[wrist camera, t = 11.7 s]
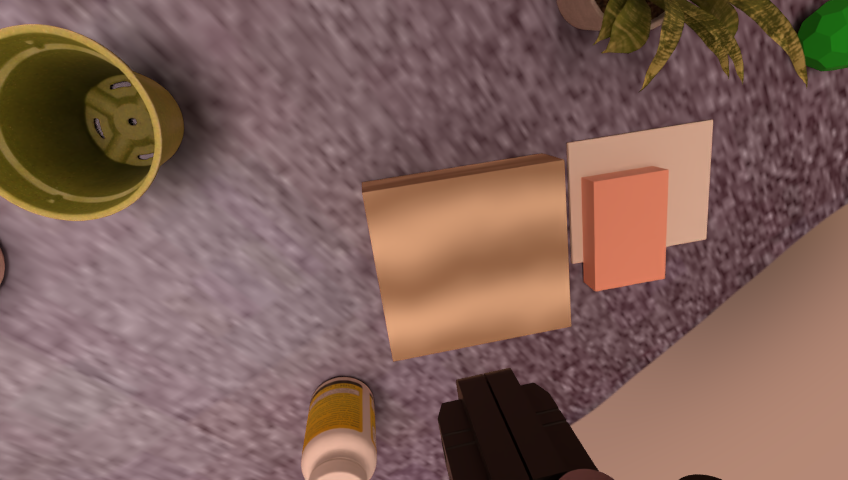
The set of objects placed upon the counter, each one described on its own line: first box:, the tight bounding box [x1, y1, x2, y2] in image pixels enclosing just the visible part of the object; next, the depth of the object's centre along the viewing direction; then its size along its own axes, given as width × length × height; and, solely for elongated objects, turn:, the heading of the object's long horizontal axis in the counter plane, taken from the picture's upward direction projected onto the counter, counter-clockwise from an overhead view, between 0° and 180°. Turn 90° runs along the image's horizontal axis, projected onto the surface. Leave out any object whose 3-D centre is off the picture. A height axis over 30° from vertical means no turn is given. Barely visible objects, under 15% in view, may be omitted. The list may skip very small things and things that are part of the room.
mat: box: [567, 120, 713, 264], centre depth 37 cm, size 10×12×1 cm
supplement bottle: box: [301, 377, 377, 480], centre depth 35 cm, size 5×5×10 cm
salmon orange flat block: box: [581, 166, 669, 291], centre depth 36 cm, size 9×6×2 cm, turn 8°
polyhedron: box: [797, 0, 848, 71], centre depth 33 cm, size 5×5×5 cm
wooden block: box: [362, 153, 571, 362], centre depth 35 cm, size 13×14×4 cm
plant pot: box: [0, 24, 184, 221], centre depth 26 cm, size 9×9×9 cm
